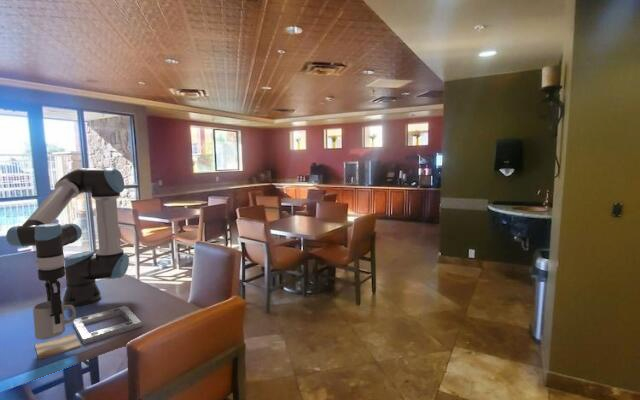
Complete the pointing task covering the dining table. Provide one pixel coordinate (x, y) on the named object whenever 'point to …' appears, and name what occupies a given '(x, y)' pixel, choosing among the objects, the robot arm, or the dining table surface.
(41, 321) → the mug
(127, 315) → the grey square frame
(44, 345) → the coaster
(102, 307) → the dining table surface
